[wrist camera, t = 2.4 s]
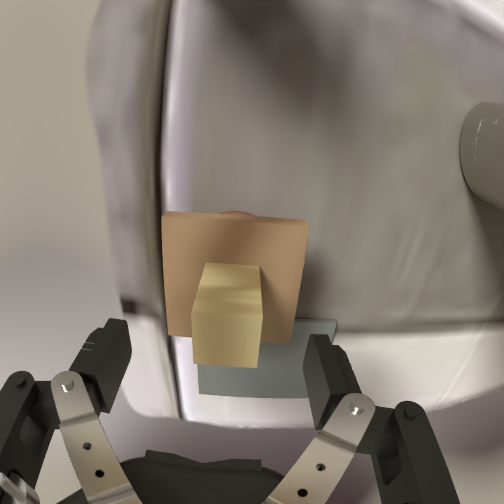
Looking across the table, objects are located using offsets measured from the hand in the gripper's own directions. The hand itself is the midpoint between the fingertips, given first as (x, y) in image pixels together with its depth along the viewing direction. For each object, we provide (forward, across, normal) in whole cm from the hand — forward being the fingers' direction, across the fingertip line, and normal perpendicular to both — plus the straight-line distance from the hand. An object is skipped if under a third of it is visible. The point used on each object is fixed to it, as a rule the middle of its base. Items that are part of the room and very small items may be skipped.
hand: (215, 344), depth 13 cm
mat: (+11, -4, +11) cm, 16 cm away
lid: (+7, 0, 0) cm, 7 cm away
